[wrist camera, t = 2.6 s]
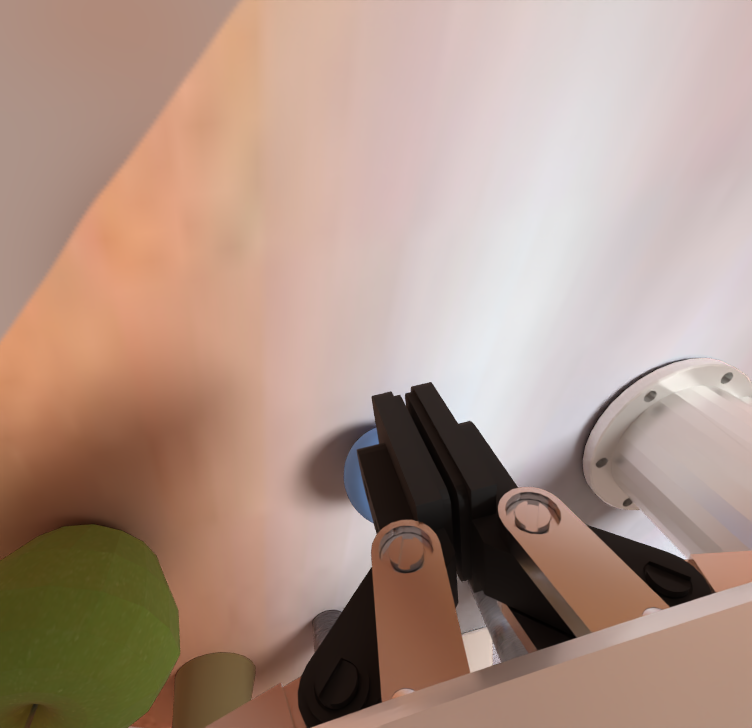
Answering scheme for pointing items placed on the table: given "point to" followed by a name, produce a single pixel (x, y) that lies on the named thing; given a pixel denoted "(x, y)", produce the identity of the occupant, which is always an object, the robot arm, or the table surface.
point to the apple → (83, 630)
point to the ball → (358, 475)
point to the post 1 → (323, 625)
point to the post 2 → (499, 628)
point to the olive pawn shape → (211, 688)
